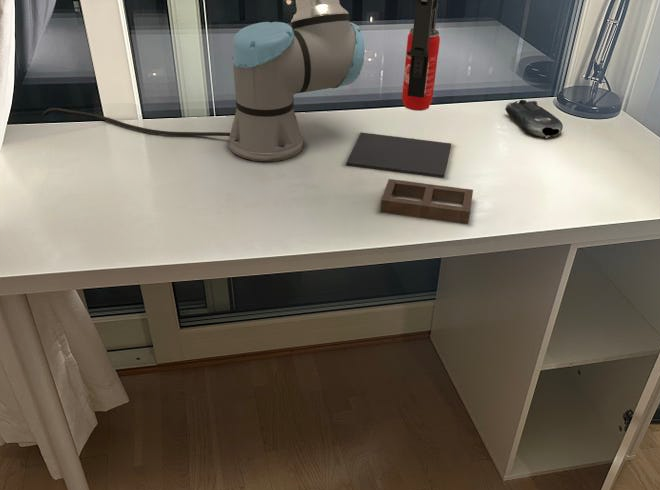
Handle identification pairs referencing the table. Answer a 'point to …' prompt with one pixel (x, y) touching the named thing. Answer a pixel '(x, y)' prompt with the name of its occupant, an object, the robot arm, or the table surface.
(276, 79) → the robot arm
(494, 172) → the table surface
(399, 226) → the table surface
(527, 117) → the electronic device
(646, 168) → the table surface
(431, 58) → the beverage can
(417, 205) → the tray
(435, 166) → the mat
